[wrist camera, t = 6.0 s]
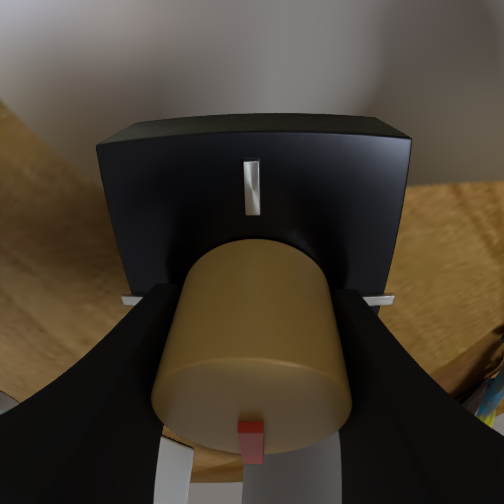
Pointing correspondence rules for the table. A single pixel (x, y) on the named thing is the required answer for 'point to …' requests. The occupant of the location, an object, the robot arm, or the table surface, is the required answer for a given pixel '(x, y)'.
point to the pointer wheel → (253, 354)
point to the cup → (296, 476)
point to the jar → (173, 472)
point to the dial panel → (257, 194)
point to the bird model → (487, 398)
